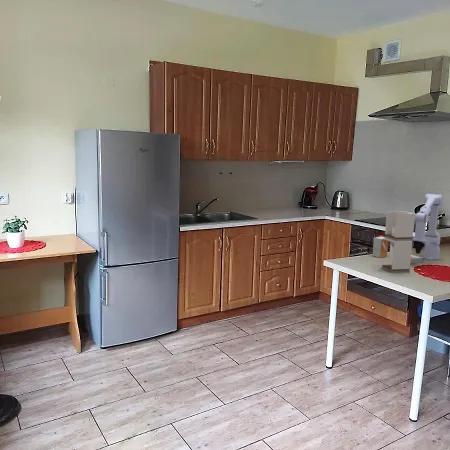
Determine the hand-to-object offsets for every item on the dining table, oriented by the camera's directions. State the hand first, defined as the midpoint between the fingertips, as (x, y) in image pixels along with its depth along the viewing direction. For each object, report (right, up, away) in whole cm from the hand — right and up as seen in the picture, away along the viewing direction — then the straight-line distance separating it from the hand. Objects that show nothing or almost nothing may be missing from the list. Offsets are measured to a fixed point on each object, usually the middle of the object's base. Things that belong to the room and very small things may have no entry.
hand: (417, 253), depth 272 cm
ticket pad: (+2, -6, +15) cm, 16 cm away
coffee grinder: (-19, -10, -11) cm, 24 cm away
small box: (-15, -4, +24) cm, 29 cm away
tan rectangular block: (-3, -6, +10) cm, 12 cm away
